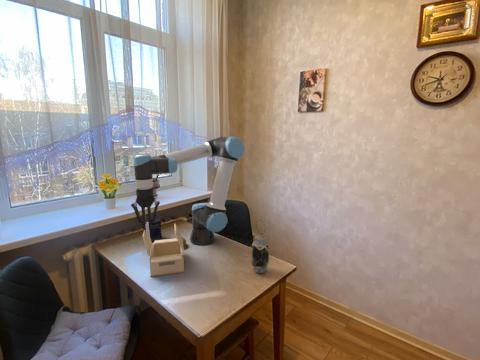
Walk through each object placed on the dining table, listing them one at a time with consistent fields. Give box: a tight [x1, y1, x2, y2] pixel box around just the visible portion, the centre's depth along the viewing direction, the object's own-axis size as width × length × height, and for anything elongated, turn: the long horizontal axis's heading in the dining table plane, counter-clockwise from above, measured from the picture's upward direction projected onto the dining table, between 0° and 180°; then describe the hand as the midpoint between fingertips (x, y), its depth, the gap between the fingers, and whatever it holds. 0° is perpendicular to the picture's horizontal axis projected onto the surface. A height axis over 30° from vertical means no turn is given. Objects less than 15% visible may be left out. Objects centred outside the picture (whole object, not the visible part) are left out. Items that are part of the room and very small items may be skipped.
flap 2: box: [174, 223, 185, 253], centre depth 124 cm, size 10×15×1 cm
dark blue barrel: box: [146, 216, 163, 243], centre depth 150 cm, size 10×10×15 cm
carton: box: [149, 237, 185, 278], centre depth 124 cm, size 15×25×9 cm, turn 16°
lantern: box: [251, 219, 270, 274], centre depth 119 cm, size 9×8×25 cm
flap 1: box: [142, 229, 152, 257], centre depth 120 cm, size 10×15×1 cm
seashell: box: [181, 236, 188, 250], centre depth 144 cm, size 10×7×8 cm
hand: (148, 235), depth 119 cm, fingers closed
